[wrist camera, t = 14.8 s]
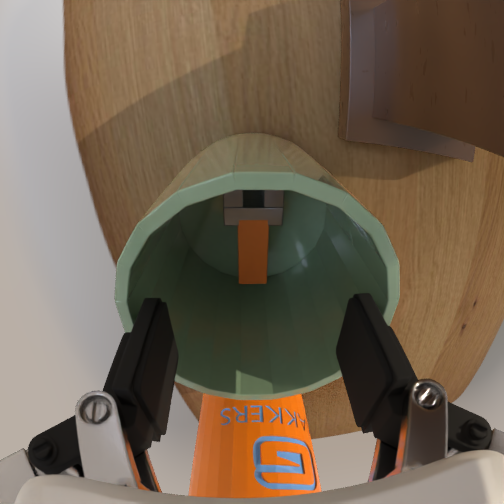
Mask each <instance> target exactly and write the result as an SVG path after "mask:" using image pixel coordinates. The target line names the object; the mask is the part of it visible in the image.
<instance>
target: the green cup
mask: <svg viewBox="0 0 504 504" xmlns="http://www.w3.org/2000/svg"><path fill="white" fill-rule="evenodd" d="M235 190H284V207H283V208H284V210H283V225H282V226H269V240H268V266H267V283H266V284H239V277H238V226H224V215H223V194H225V193H228V192H232V191H235ZM359 293H370V294H371V296H372V298H373V299H374V301H375V303H376V305H377V307H378V308H379V310H380V312H381V314H382V316H383V318H384V320H385V322H386V323H387V325H389V326H390V323H391V320H392V318H393V315H394V312H395V310H396V307H397V304H398V301H399V297H400V273H399V260H398V258H397V255H396V253H395V250H394V248H393V246H392V244H391V241H390V239H389V237H388V235H387V232H386V230H385V228H384V226H383V225H382V223H381V222H380V221H379V220H378V219H377V218H376V217H375V216H374V215H373V214H372V213H371V212H370V211H369V210H368V209H367V208H366V207H365V206H364V205H363V204H362V203H361V202H360V201H359V200H358V199H357V198H356V197H355V196H354V195H353V194H352V193H351V192H350V191H349V190H348V189H347V188H346V187H345V186H343V185H342V184H341V183H340V182H339V181H338V180H337V179H336V178H335V177H334V176H333V175H332V174H331V173H329V172H328V171H327V170H326V169H325V168H324V167H323V166H322V165H321V164H319V163H318V162H317V161H316V160H315V159H314V158H313V157H311V156H310V155H309V154H308V153H306V152H305V151H304V150H303V149H301V148H300V147H299V146H297V145H296V144H294V143H292V142H290V141H288V140H286V139H283V138H280V137H277V136H274V135H270V134H263V133H242V134H237V135H232V136H229V137H226V138H223V139H220V140H218V141H216V142H214V143H212V144H210V145H209V146H208V147H206V148H205V149H203V150H202V151H201V152H200V153H199V154H197V155H196V156H195V157H193V158H192V159H191V160H190V161H189V162H188V164H187V165H186V166H185V167H184V168H183V169H182V170H181V171H180V173H179V174H178V175H177V176H176V177H175V178H174V180H173V181H172V182H171V183H170V184H169V185H168V187H167V188H166V189H165V190H164V191H163V193H162V194H161V195H160V196H159V197H158V199H157V200H156V201H155V202H154V204H153V205H152V206H151V207H150V208H149V210H148V211H147V212H146V213H145V215H144V216H143V217H142V219H141V220H140V221H139V222H138V224H137V225H136V227H135V228H134V230H133V232H132V234H131V236H130V238H129V240H128V242H127V244H126V246H125V247H124V249H123V251H122V253H121V255H120V257H119V259H118V263H117V269H116V283H115V303H116V306H117V310H118V313H119V316H120V318H121V321H122V324H123V328H124V330H125V333H126V332H131V331H132V328H133V326H134V323H135V320H136V318H137V315H138V313H139V310H140V308H141V305H142V303H143V300H144V299H145V298H161V300H162V302H166V303H167V307H168V311H169V316H170V320H171V324H172V329H173V333H174V337H175V341H176V345H177V349H178V355H179V358H178V365H177V370H176V376H175V381H176V382H178V383H180V384H182V385H185V386H187V387H189V388H192V389H194V390H197V391H199V392H202V393H206V394H208V395H213V396H218V397H224V398H229V399H235V400H273V399H280V398H285V397H289V396H294V395H298V394H302V393H307V392H310V391H312V390H314V389H317V388H319V387H321V386H323V385H326V384H328V383H330V382H332V381H334V380H337V379H339V378H340V377H342V373H341V370H340V366H339V363H338V360H337V356H336V346H337V342H338V339H339V335H340V331H341V328H342V324H343V320H344V316H345V312H346V308H347V304H348V300H349V298H353V295H354V294H359Z"/></svg>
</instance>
